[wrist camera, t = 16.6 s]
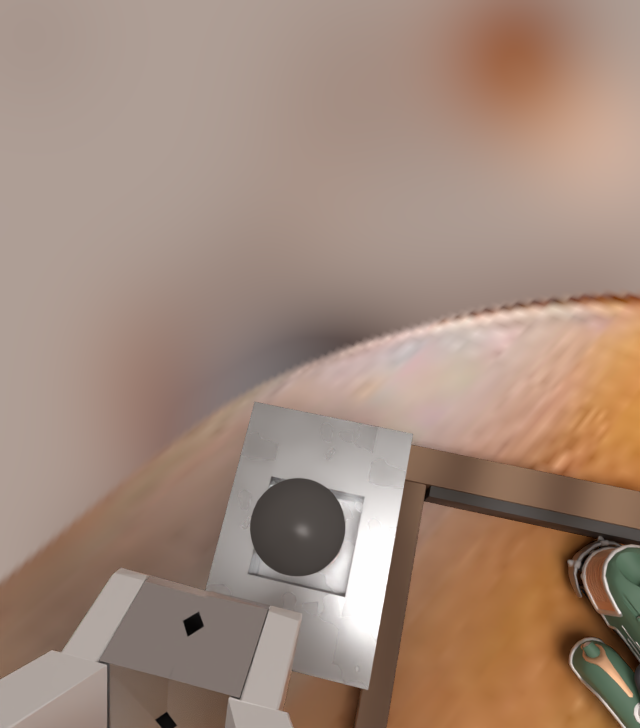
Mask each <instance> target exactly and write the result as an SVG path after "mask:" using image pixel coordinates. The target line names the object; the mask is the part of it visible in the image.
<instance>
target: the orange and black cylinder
mask: <svg viewBox="0 0 640 728" xmlns="http://www.w3.org/2000/svg"><path fill="white" fill-rule="evenodd" d="M250 535H251V540H252V543H253V546H254V549H255V551H256V553H257V554H258V556H259V557H260V559H261V560H262V561H263V562H264V563H265V564H266V565H267V566H268V567H270V568H271V569H273V570H274V571H276V572H278V573H281V574H284V575H288V576H308V575H311V574H314V573H317V572H319V571H321V570H322V569H324V568H326V567H328V566H329V565H330V564H332V563H333V562H334V560H335V559H336V558H337V556H338V554H339V552H340V550H341V547H342V545H343V541H344V537H345V518H344V514H343V510H342V508H341V505H340V503H339V501H338V500H337V498H336V497H335V496H334V494H333V493H332V492H331V491H330V490H329V489H327V488H326V487H325V486H323V485H322V484H320V483H318V482H316V481H313V480H310V479H305V478H292V479H287V480H283V481H281V482H278V483H277V484H275V485H273V486H272V487H270V488H269V489H268V490H267V491H266V492H265V493H263V495H262V496H261V497H260V498H259V500H258V502H257V503H256V505H255V507H254V510H253V513H252V516H251V521H250Z"/></svg>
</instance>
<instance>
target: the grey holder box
mask: <svg viewBox="0 0 640 728" xmlns="http://www.w3.org/2000/svg"><path fill="white" fill-rule="evenodd" d="M412 437H413V434H411V433H406V432H401V431H396V430H391V429H386V428H381V427H376V426H372V425H367V424H362V423H357V422H352V421H347V420H342V419H337V418H332V417H327V416H322V415H317V414H313V413H308V412H303V411H298V410H293V409H288V408H283V407H278V406H273V405H268V404H263V403H258V402H255V403H254V407H253V410H252V414H251V418H250V422H249V426H248V429H247V433H246V437H245V441H244V445H243V448H242V452H241V456H240V460H239V464H238V467H237V471H236V475H235V479H234V483H233V486H232V490H231V494H230V498H229V502H228V505H227V509H226V513H225V517H224V521H223V524H222V528H221V532H220V536H219V540H218V543H217V547H216V551H215V555H214V559H213V562H212V566H211V570H210V574H209V578H208V581H207V585H206V589H205V591H209V592H210V591H213V592H217V593H222V594H226V595H230V596H234V597H238V598H243V599H247V600H251V601H255V602H260V603H264V604H268V605H271V606H274V607H278V608H282V609H286V610H291V611H295V612H299V613H302V621H301V626H300V631H299V636H298V641H297V646H296V651H295V656H294V661H293V666H292V671H295V672H299V673H303V674H307V675H311V676H315V677H318V678H322V679H326V680H330V681H334V682H338V683H342V684H346V685H350V686H354V687H358V688H362V689H366V690H368V688H369V682H370V677H371V671H372V665H373V659H374V654H375V648H376V642H377V637H378V631H379V625H380V619H381V614H382V608H383V602H384V597H385V591H386V585H387V580H388V574H389V568H390V562H391V557H392V551H393V545H394V540H395V534H396V528H397V522H398V517H399V511H400V505H401V500H402V494H403V488H404V482H405V477H406V471H407V465H408V460H409V454H410V448H411V443H412ZM292 478H305V479H310V480H313V481H316V482H318V483H320V484H322V485H323V486H325V487H326V488H327V489H329V490H330V491H331V492H332V493H333V494H334V496H335V497H336V498H337V500H338V501H339V503H340V505H341V508H342V510H343V514H344V518H345V537H344V541H343V545H342V547H341V550H340V552H339V554H338V556H337V558H336V559H335V560H334V562H333V563H332V564H330V565H329V566H328V567H326V568H324V569H322V570H321V571H319V572H317V573H314V574H311V575H308V576H288V575H284V574H281V573H278V572H276V571H274V570H273V569H271V568H270V567H268V566H267V565H266V564H265V563H264V562H263V561H262V560H261V559H260V557H259V556H258V554H257V553H256V551H255V549H254V546H253V543H252V540H251V535H250V521H251V516H252V513H253V510H254V507H255V505H256V503H257V502H258V500H259V498H260V497H261V496H262V495H263V493H265V492H266V491H267V490H268V489H269V488H270V487H272V486H273V485H275V484H277V483H278V482H281V481H283V480H287V479H292Z"/></svg>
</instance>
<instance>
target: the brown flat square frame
mask: <svg viewBox="0 0 640 728" xmlns="http://www.w3.org/2000/svg"><path fill="white" fill-rule="evenodd" d="M425 492H426V494H425ZM424 495H425V501H426V502H431V503H436V504H440V505H445V506H450V507H454V508H459V509H464V510H468V511H473V512H478V513H482V514H487V515H491V516H496V517H501V518H505V519H510V520H515V521H519V522H524V523H529V524H533V525H538V526H542V527H547V528H552V529H556V530H561V531H566V532H570V533H575V534H580V535H584V536H589V537H594V538H598V536H601V537H603V539H604V540H608V541H615V542H617V543H621V544H626V545H629V544H634V545H640V492H639V491H634V490H629V489H624V488H619V487H614V486H609V485H605V484H600V483H595V482H590V481H585V480H580V479H575V478H570V477H566V476H561V475H556V474H551V473H546V472H541V471H536V470H532V469H527V468H522V467H517V466H512V465H507V464H502V463H497V462H493V461H488V460H483V459H478V458H473V457H468V456H463V455H458V454H454V453H449V452H444V451H439V450H434V449H429V448H424V447H420V446H415V445H411V448H410V454H409V460H408V465H407V471H406V477H405V482H404V488H403V494H402V500H401V505H400V511H399V517H398V522H397V528H396V534H395V540H394V545H393V551H392V557H391V562H390V568H389V574H388V580H387V585H386V591H385V597H384V602H383V608H382V614H381V619H380V625H379V631H378V637H377V642H376V648H375V654H374V659H373V665H372V671H371V677H370V682H369V688H368V690H366V689H362V688H361V689H360V694H359V700H358V706H357V711H356V717H355V722H354V728H386V727H387V721H388V715H389V709H390V703H391V697H392V690H393V684H394V678H395V672H396V666H397V660H398V654H399V648H400V642H401V635H402V629H403V623H404V617H405V611H406V605H407V599H408V593H409V587H410V581H411V574H412V568H413V562H414V556H415V550H416V544H417V538H418V532H419V526H420V520H421V513H422V507H423V501H424Z"/></svg>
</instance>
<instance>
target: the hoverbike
mask: <svg viewBox="0 0 640 728" xmlns="http://www.w3.org/2000/svg"><path fill="white" fill-rule="evenodd" d="M608 546H610V547H608ZM597 547H599V549H598V550H595V551H594V549H595V548H597ZM589 553H590V555H589V556H588V557H587V558H586V559H584V560H583V558H584V557H585V556H586V555H588V554H589ZM582 560H583V561H582ZM581 561H582V562H581ZM567 562H568V567H569V569H568V575H569V578H570V582H571V585H572V587H573V589H574V591H575V593H576V595H577V596H578V597H582V593H581V590H582V591H583V593H584V594H585V595H586V596H587V598H588V599H589V600H590V601H591V603H592V605H593V607H594V609H595V610H596V611H597V612H598V613H599V614H600V615H601V616H602V618H603V619H604V621H605V622H606V624H607V626H608V627H610V628H612V629H613V630H614V631H615V632H616V633H617V634H618V635H619V636H620V637H621V638H622V639H623V641H624V642H625V643H626V645H627V646H628V647H629V649H630V650H631V651H632V653H633V654H634V655H635V657H636V658H637V659H638V661H639V662H640V545H634V544H629V545H623V546H622V545H620V544H618V543H616V542H615V541H608V540H604V539H603V537H601V536H598V540H597V541H594V542H593V543H590V544H588V545H587V546H585V547H584V548H583V549H581V550H580V551H579V552H578V553H576V554H575V555H574V557H573V558H572V560H568V561H567ZM583 564H584V565H583ZM578 571H580V572H582V574H581V578H582V581H583V585H584V586H581V585H579V583H578V578H577V573H578ZM583 589H585V591H586V592H585V591H584V590H583ZM569 665H570V667H571V669H572V670H573V672H574V673H575V674H576V676H577V677H578V678H579V680H580V681H581V682H582V683H583V684H584V685H585V686H586V687H587V688H588V689H589V690H590V691H591V692H593V693H594V694H595V695H596V696H597V697H598V699H599V700H600V701H601V702H602V703H603V704H604V706H605V707H606V708H607V709H608V710H609V712H610V713H611V714H612V715H613V717H614V718H615V719H616V720H617V722H618V723H619V724H620V725H621V727H622V728H640V664H639V665H638V666H637V668H636V670H635V673H634V672H633V671H632V670H631V668H630V667H629V666H628V665H627V664H626V663H625V662H624V661H623V660H622V658H621V657H620V656H619V655H618V654H617V653H616V652H615V651H614V650H613V649H612V648H611V647H609V646H607V645H606V644H605V643H604V642H603V641H602V640H600V639H599V638H594V637H587V638H583V639H582V640H580V641H578V642H577V643H576V644H575V645H574V646H573V647H572V649H571V651H570V654H569Z"/></svg>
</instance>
